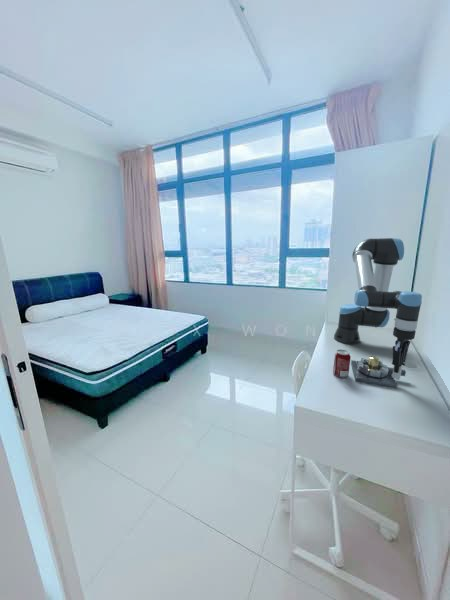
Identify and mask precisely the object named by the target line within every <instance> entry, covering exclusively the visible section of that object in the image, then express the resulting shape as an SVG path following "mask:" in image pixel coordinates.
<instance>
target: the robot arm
mask: <svg viewBox="0 0 450 600" xmlns="http://www.w3.org/2000/svg"><path fill="white" fill-rule="evenodd" d="M404 255H405V244H404V242H403V240H402V239H401V238H393V237H391V238H390V237H389V238H388V237H387V238H383V237H382V238H367V239H364V240H362V241H360V242H359V243H358V244H357V245H356V246H355V247H354V249H353V251H352V256H351V257H352V261H353V262H354V264H355V271H356V272H355V273H356V279H357V288H358V289H357V290H356V291H355V292H354V298H353V299H354V301H353V302H354V303H346V304H343V305H341V306H340V308H339V312H338V313H339V316H338V323H337V324H338V326H337V329H336V330H335V333H334V335H333V339H334V340H335V341H337V342H340V343H342V344H348V345H356V344H357V345H358V344H359V343H360V340H361V336H360V331H359V327H360V326H361V327H371V328H384V327H386V326H387V325H388V322H389V321H390V314H391V313H390V312H391V311H390V310H389V309H393V310H396V312H395V313H396V315H395V318H394V319H393V321H394V328H393V331H392V336H393V337H395V338H396V340H395V342H394V344H395V345H393V346H392V351H393V352H392V362H391V364H392V365H393V367H392V368H393V374H392V378H394V380H397V381H400V379H401V377H402V376H401V371H402V369H403V366H406V363H405V362H406V359H407V355H408V351H409V347H410V344H411V340H414V339H415V337H416V331H417V328H418V321H419V315H420V310H421V305H422V299H423V295H422V293H419V292H415V291H408V290H407V291H400V290H394V291H389V288H390V283H391V278H392V273H393V269H394V267H395V266H396V265H398V262H400V261H402V260H403V258H404V257H405V256H404ZM372 261H373V262H372ZM373 264H374V265H375V267H374V268H373Z"/></svg>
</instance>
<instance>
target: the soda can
mask: <svg viewBox="0 0 450 600" xmlns="http://www.w3.org/2000/svg"><path fill="white" fill-rule="evenodd" d="M350 366H351V355H350V352H349V351H348V350H346V349H341V348H340V349H336V352H335V353H334V359H333V366H332V374H333V375H335V376H336V377H338V378H347V377H348V376H349V374H350V373H349V371H350Z"/></svg>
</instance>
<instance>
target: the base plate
mask: <svg viewBox="0 0 450 600" xmlns="http://www.w3.org/2000/svg"><path fill="white" fill-rule="evenodd" d="M368 360H369V362H368V366H369V369H373V370H380V369H378V362H379V360H380V358H379V357H377V356H374V355H369V356H368ZM359 361H360V360H352V359H350V366H351V369H352V373H353V378H354V380H355V381H354V382H356V383H363V384H367V385H373V386H379V387H386V388H388V389H389V388H390V389H397V387H398V383H397V382H396V379H395V378H392V374H388V375H387V376H384V377H374V376H369V375H366V374H364V373H363V372H361V371H360V370H359V369H358V362H359ZM384 365H385V366H387V367H388V365H386V364H384Z"/></svg>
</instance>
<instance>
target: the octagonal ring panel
mask: <svg viewBox="0 0 450 600" xmlns="http://www.w3.org/2000/svg"><path fill="white" fill-rule="evenodd" d="M358 361H359V362H358V369H359V370H360V371H361V372H363V373H364V374H366V375H369V376H374V377H384V376H387V375H388V374H393V368H394V367H390V366H388V365H387V366H385V365H386V364H384V362H383V361H382V360H380V359H379V362H378V369H380V370H373V369H369V366H368V362H369V359H366V358H361V359H360V360H358ZM406 373H407V371H406V370H405V369H403V368H402V371H401V376H400V377H406Z"/></svg>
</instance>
